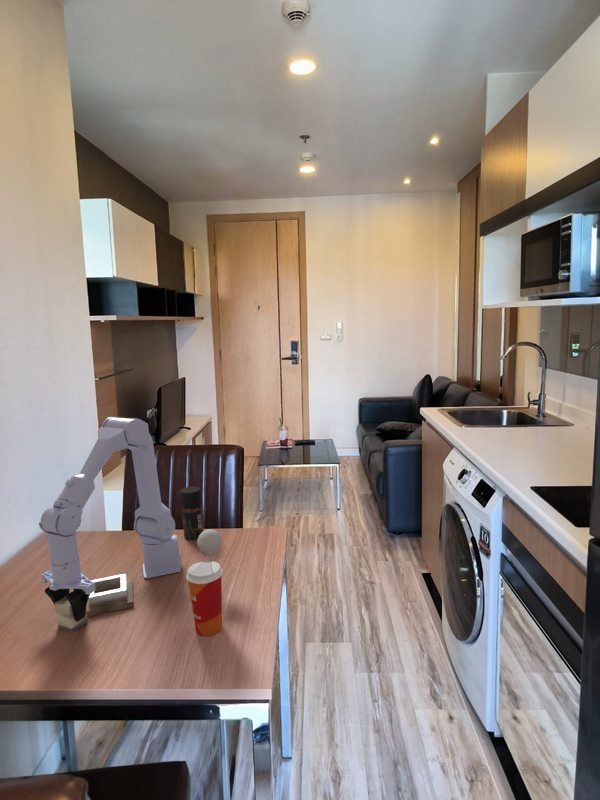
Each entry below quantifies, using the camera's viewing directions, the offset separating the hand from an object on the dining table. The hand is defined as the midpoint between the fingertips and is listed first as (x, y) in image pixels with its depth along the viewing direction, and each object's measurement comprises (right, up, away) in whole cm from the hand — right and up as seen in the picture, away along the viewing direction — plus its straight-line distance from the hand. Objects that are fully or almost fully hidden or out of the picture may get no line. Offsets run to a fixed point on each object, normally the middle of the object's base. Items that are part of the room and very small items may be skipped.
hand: (72, 616), depth 113 cm
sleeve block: (0, -2, 0) cm, 2 cm away
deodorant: (+18, +6, +44) cm, 48 cm away
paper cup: (+31, -1, -3) cm, 31 cm away
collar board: (+4, 0, +10) cm, 11 cm away
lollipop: (+29, +1, +14) cm, 32 cm away
